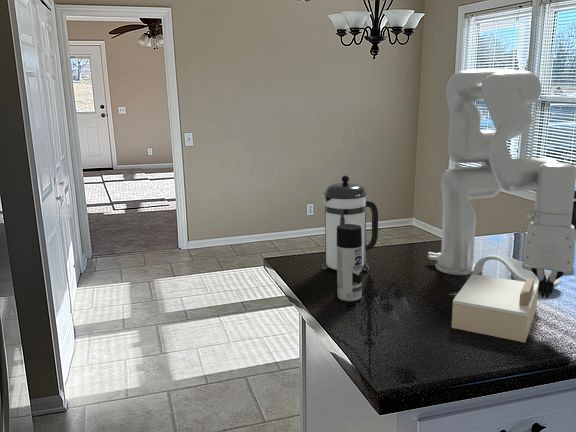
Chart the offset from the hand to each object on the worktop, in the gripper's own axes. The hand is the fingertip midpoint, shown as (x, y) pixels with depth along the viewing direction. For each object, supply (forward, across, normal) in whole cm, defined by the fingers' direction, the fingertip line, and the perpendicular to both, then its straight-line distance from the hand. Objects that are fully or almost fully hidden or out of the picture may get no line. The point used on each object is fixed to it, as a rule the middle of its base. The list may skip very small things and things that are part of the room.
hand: (545, 295), depth 121 cm
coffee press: (+8, -57, +17) cm, 60 cm away
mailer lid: (+2, -10, 0) cm, 11 cm away
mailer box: (+8, -10, 0) cm, 13 cm away
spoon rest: (+8, -10, +28) cm, 31 cm away
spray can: (+8, -47, -4) cm, 48 cm away
